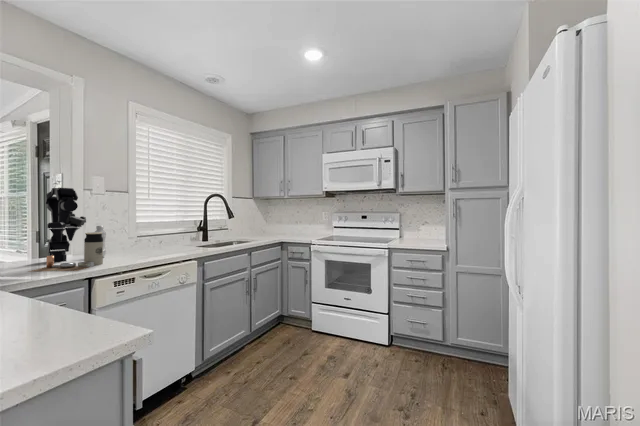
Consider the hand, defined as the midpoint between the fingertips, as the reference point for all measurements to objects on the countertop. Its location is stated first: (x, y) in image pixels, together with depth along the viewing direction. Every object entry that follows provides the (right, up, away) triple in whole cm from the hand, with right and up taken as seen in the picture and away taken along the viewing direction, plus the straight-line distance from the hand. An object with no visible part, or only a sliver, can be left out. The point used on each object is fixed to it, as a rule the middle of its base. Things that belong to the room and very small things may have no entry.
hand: (65, 241), depth 159 cm
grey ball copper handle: (+5, -12, -8) cm, 15 cm away
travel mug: (+13, -14, +2) cm, 19 cm away
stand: (+8, -14, -10) cm, 19 cm away
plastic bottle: (-7, -14, +34) cm, 37 cm away
